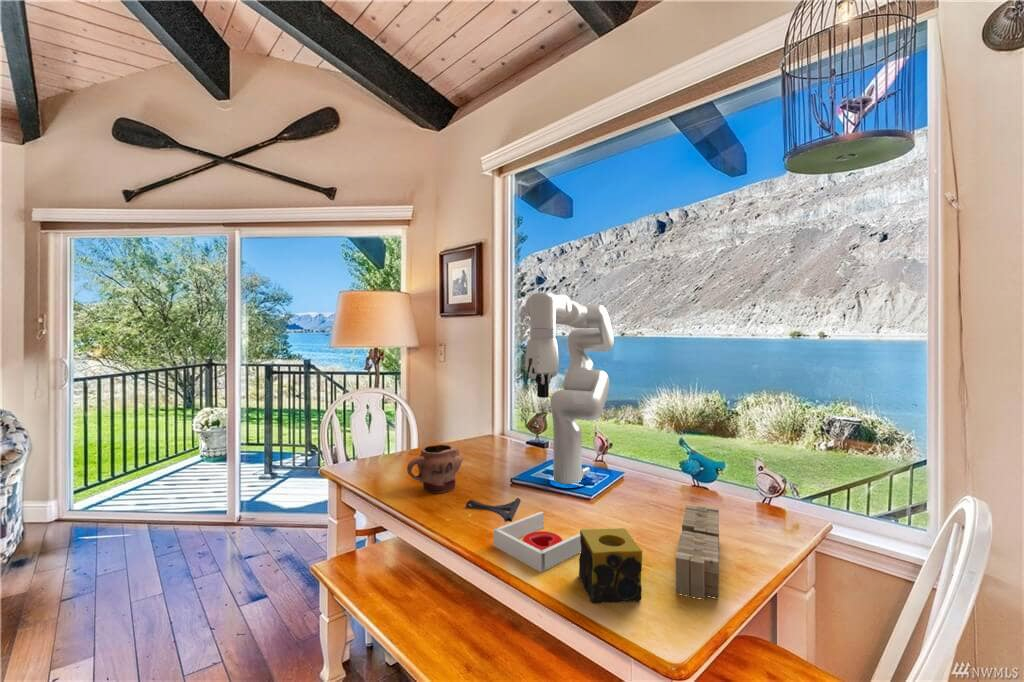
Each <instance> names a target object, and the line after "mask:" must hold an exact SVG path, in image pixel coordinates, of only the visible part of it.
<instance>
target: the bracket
mask: <svg viewBox="0 0 1024 682" xmlns="http://www.w3.org/2000/svg"><path fill="white" fill-rule="evenodd" d="M520 503H521V499H520V498H519V497H517V498H515V500H514V501H511V502H508V503H506V504H500V505H489V504H485V503H481V502H479V501H475V500H473V499H469V500H468V501H467V502H466V503H465V508H466V509H475V510H476V509H477V510H488V511H492V512H494V513H497V514H499V515H500V516H501V517H502V518H503V519H504V520H505V521H506V522H507V521H508V519H509V520H510V522H513V519H514V517H515V515H516V512H517V509H518V507H519V506H520Z"/></svg>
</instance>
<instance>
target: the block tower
mask: <svg viewBox="0 0 1024 682" xmlns="http://www.w3.org/2000/svg"><path fill="white" fill-rule="evenodd" d="M719 511H720V509H719V508H717V507H711V506H710V507H709V506H702V505H701V506H699V505H695V504H694V505H693V504H687V503H686V504H685V510H684V515H683V520H682V521H683V522H682V523H681V533H680V534H679V535H680V536H679V537H680V538H679V541H678V545H677V546H678V547H677V552H676V555H675V594H676V593H677V594H676V595H678V594H682V595H687V596H691V597H695V598H701V599H704V598H706V597H705V596H710V597H715V598H719V597H720V596H719V594H720V593H719V590H720V589H719V586H720V585H719V584H720V530H719V529H720V523H719V522H720V514H719V513H720V512H719ZM682 595H681V596H682ZM687 596H686V597H687ZM691 597H690V598H691ZM695 598H694V599H695ZM704 600H705V599H704Z"/></svg>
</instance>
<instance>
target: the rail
mask: <svg viewBox="0 0 1024 682" xmlns="http://www.w3.org/2000/svg"><path fill="white" fill-rule="evenodd" d="M544 515H545V514H544V512H543V511H539V512H536V513H533V514H531V515H528V516H526V517H522V518H521V519H517V520H515V521H511V522H510V523H508V524H504V525H502V526H500V527H497V528H496V527H495V528H494V529H493V547H495V548H497V549H498V550H500V551H502V552H504V553H506V554H507V555H510V556H511V557H513V558H515V559H516V560H517V561H520V562H522V563H524V564H525V565H528V566H529V567H531V568H532V569H535V570H536V571H538V572H539V573H541V572H542V573H543V571H544V572H545V570H546V571H547V569H548V570H550V569H552V568H553V566H554V565H555V566H557V565H559V564H561V563H563V562H565V561H567V560H569V559H571V558H573V557H575V556H577V555H579V554H580V552H581V543H580V532H579V533H577V534H575V535H572V536H570V537H567V538H566V539H563V541H562V542H559V543H557V544H555V545H553V546H551V547H549V548H546V549H544V550H542V551H541V550H539V549H537V548H535V547H533V546H531V545H529V544H527V543H525V542H523V541H522V539H521V538H523V537H524V536H525V535H527V534H529V533H532V532H538V531H540V530H543V529H544V528H545V525H544V523H545V522H544V521H545V520H544V517H545V516H544ZM539 529H540V530H539ZM578 553H579V554H578ZM576 554H577V555H576ZM574 555H575V556H574ZM572 556H573V557H572ZM570 557H571V558H570ZM568 558H569V559H568ZM566 559H567V560H566ZM564 560H565V561H564ZM562 561H563V562H562ZM560 562H561V563H560ZM558 563H559V564H558ZM556 564H557V565H556ZM555 566H554V567H555ZM551 567H552V568H551ZM549 568H550V569H549Z"/></svg>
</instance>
